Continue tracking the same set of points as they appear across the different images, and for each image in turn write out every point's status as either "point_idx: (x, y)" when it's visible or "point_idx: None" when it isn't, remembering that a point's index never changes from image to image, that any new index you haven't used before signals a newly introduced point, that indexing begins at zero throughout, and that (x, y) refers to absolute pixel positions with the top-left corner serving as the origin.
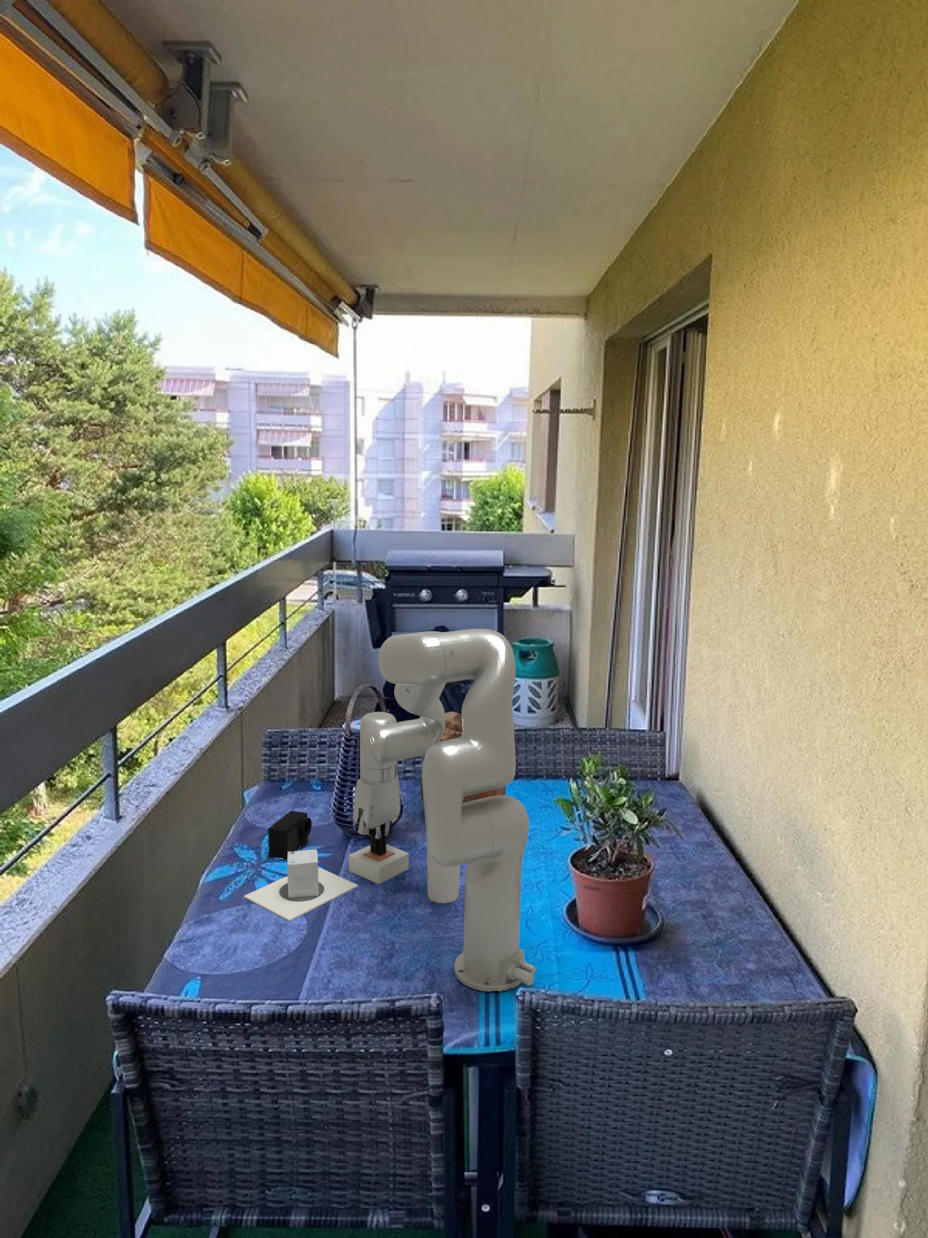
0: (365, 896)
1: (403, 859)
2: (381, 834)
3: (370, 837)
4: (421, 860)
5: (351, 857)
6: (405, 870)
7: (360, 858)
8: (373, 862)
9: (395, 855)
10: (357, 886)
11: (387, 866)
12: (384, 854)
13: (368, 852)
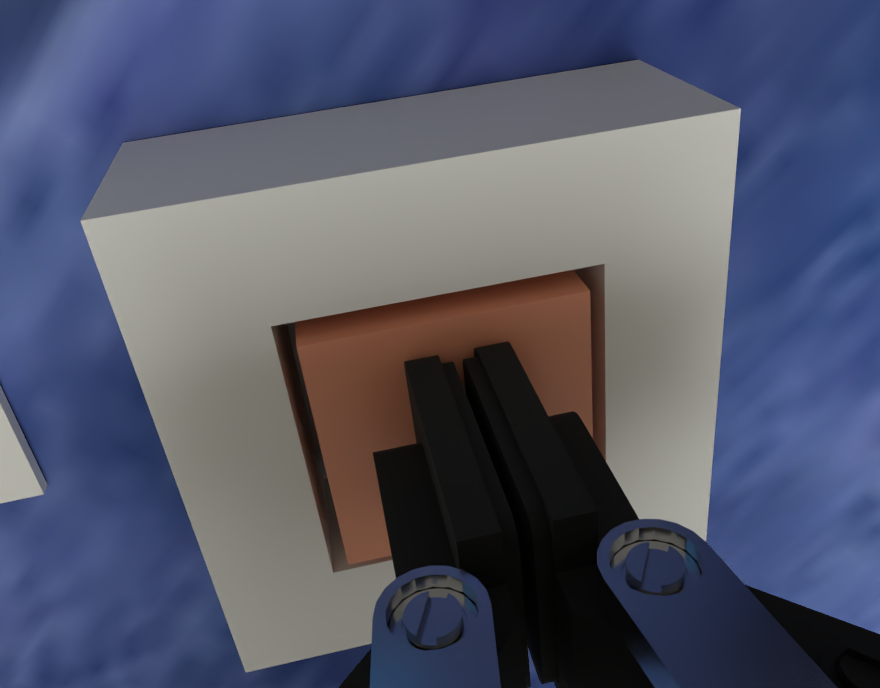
0: (30, 632)
1: None
2: (569, 684)
3: (446, 502)
4: (829, 389)
5: (106, 273)
6: None
7: (187, 406)
8: (271, 561)
9: None
10: (36, 490)
11: None
12: None
13: (372, 350)
